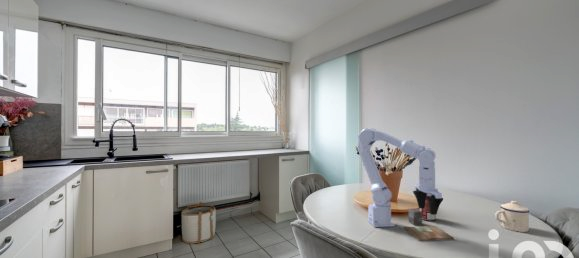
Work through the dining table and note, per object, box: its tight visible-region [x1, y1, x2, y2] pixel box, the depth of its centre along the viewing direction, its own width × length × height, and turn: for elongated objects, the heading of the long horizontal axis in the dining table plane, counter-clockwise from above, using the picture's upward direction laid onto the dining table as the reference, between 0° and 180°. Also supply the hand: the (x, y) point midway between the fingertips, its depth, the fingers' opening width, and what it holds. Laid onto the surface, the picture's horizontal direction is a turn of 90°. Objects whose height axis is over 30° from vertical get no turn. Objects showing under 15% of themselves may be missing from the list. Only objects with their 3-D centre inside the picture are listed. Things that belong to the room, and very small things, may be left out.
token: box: [408, 208, 423, 226], centre depth 109 cm, size 4×4×6 cm
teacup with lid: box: [494, 200, 530, 233], centre depth 103 cm, size 12×9×12 cm
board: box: [403, 225, 455, 242], centre depth 97 cm, size 14×11×1 cm
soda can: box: [418, 194, 437, 222], centre depth 114 cm, size 7×7×12 cm
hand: (427, 211), depth 97 cm, fingers open, 7 cm apart
